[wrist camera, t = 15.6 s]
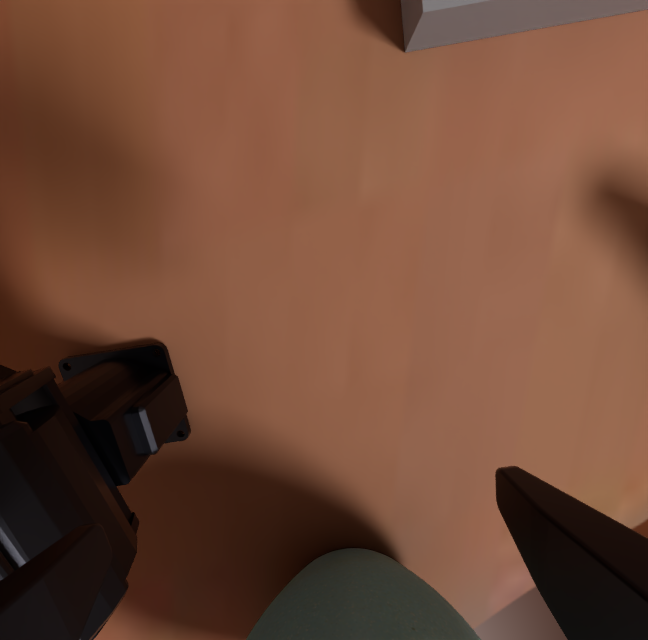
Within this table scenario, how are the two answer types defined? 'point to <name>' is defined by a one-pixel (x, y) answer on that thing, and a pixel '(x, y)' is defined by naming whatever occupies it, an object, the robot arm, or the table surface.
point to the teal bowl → (359, 603)
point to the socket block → (496, 17)
